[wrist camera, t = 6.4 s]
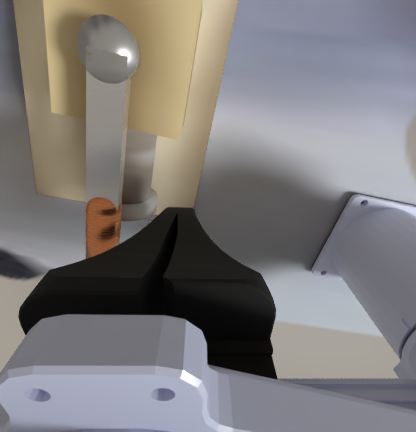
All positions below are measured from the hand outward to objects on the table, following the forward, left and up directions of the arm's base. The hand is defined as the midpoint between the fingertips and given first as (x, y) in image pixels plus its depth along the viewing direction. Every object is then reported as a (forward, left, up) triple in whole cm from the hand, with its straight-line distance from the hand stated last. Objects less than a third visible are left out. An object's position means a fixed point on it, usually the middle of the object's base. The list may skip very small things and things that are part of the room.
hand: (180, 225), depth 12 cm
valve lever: (+4, -2, -1) cm, 4 cm away
